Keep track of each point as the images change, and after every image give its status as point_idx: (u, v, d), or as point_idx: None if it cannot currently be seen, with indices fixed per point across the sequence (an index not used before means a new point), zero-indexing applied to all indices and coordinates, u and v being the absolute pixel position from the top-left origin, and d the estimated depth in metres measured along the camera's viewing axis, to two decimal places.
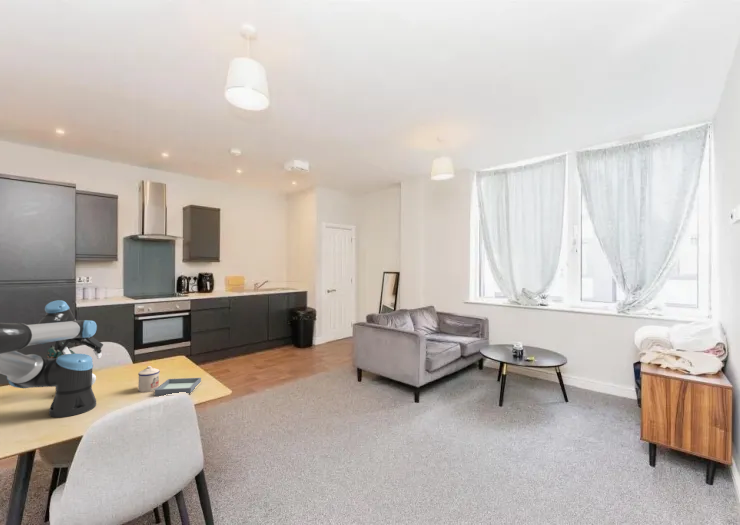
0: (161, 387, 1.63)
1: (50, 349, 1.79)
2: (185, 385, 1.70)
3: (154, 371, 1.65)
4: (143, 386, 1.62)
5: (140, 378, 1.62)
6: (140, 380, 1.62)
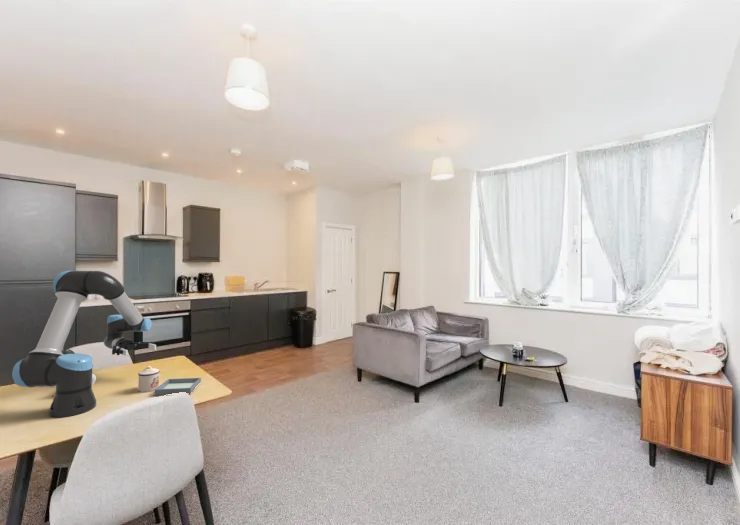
0: (161, 387, 1.63)
1: None
2: (185, 385, 1.70)
3: (154, 371, 1.65)
4: (143, 386, 1.62)
5: (140, 378, 1.62)
6: (140, 380, 1.62)
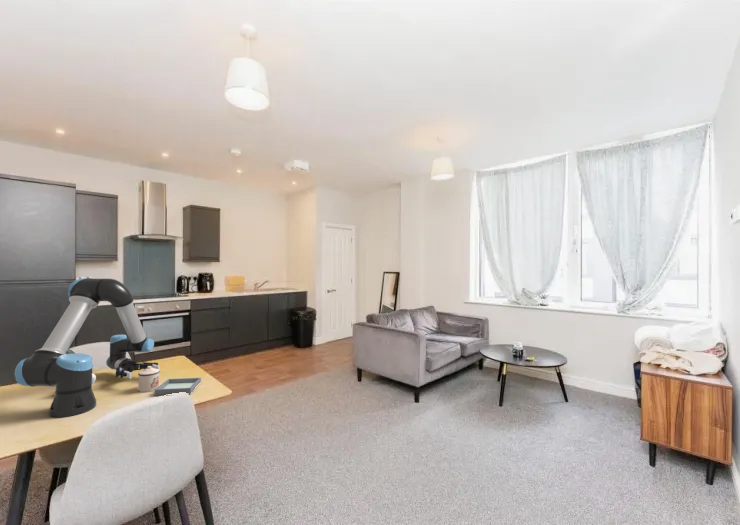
0: (161, 387, 1.63)
1: None
2: (185, 385, 1.70)
3: (154, 371, 1.65)
4: (143, 386, 1.62)
5: (140, 378, 1.62)
6: (140, 380, 1.62)
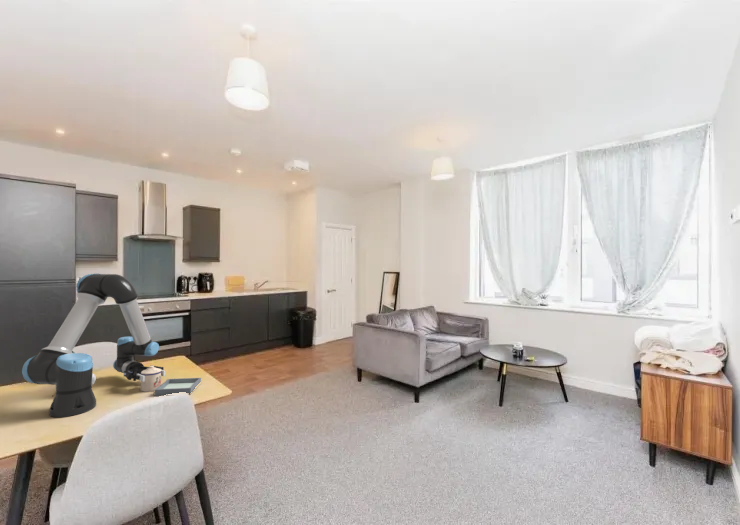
0: (161, 387, 1.63)
1: None
2: (185, 385, 1.70)
3: (157, 370, 1.66)
4: (146, 385, 1.62)
5: None
6: None
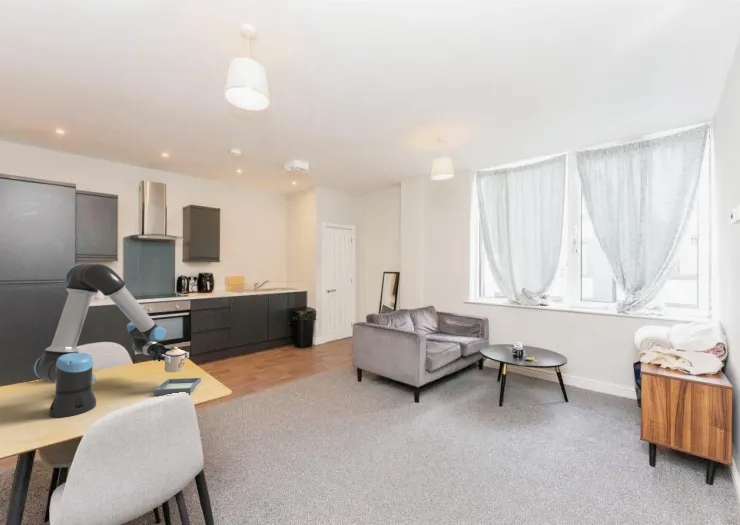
0: (161, 387, 1.63)
1: None
2: (185, 385, 1.70)
3: (181, 352, 1.68)
4: (171, 366, 1.64)
5: None
6: None
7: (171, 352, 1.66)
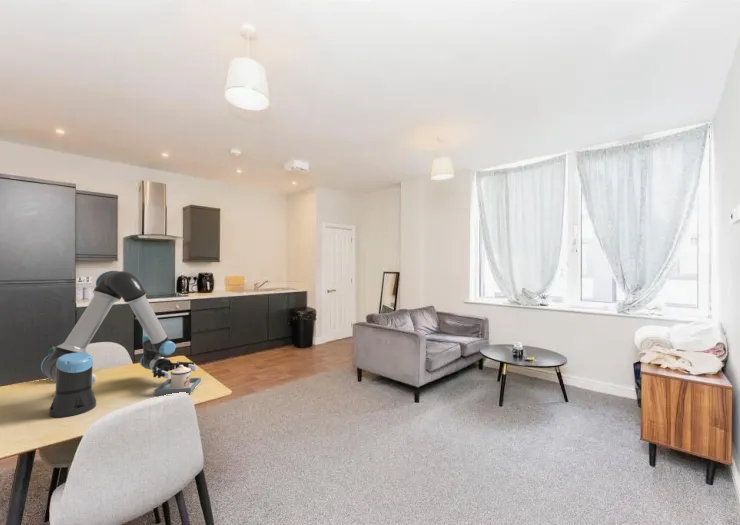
0: (161, 387, 1.63)
1: (50, 349, 1.79)
2: None
3: (187, 370, 1.66)
4: (176, 384, 1.62)
5: (173, 377, 1.62)
6: (173, 379, 1.62)
7: (176, 370, 1.64)
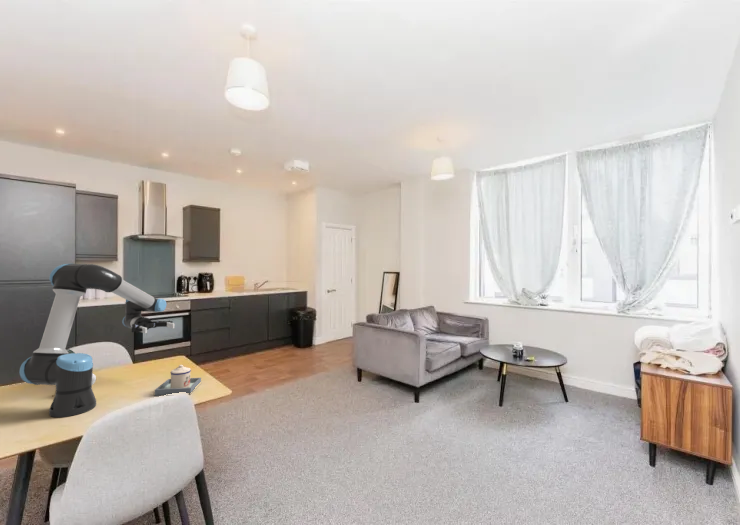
0: (161, 387, 1.63)
1: None
2: None
3: (186, 370, 1.66)
4: (176, 384, 1.62)
5: (173, 377, 1.62)
6: (173, 379, 1.62)
7: (176, 370, 1.64)
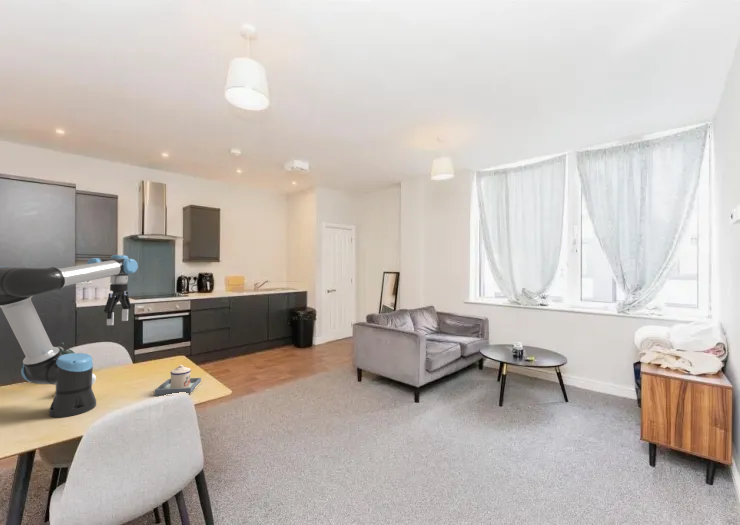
0: (161, 387, 1.63)
1: None
2: None
3: (186, 370, 1.66)
4: (176, 384, 1.62)
5: (173, 377, 1.62)
6: (173, 379, 1.62)
7: (176, 370, 1.64)
